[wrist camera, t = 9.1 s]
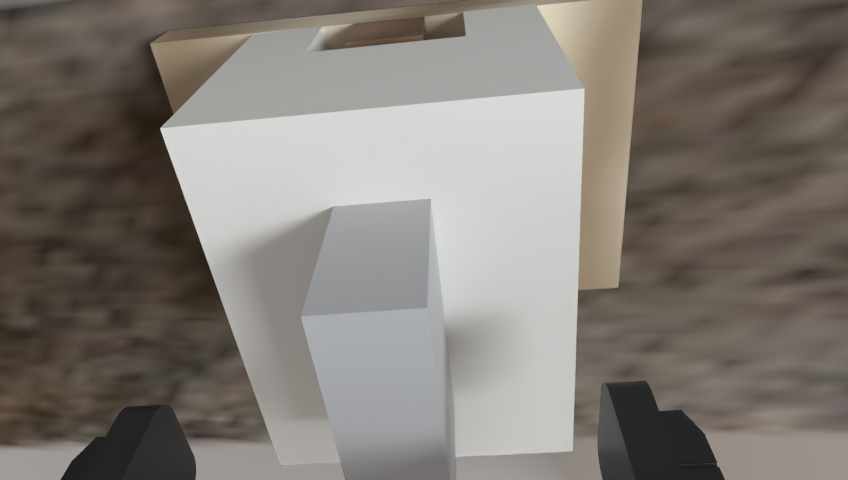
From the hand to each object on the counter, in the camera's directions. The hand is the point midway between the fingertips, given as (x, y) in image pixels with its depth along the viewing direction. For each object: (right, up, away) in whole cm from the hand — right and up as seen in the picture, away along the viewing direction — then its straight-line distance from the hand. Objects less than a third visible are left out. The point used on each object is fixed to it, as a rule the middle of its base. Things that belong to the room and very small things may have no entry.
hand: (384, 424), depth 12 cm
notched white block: (0, +5, +8) cm, 10 cm away
